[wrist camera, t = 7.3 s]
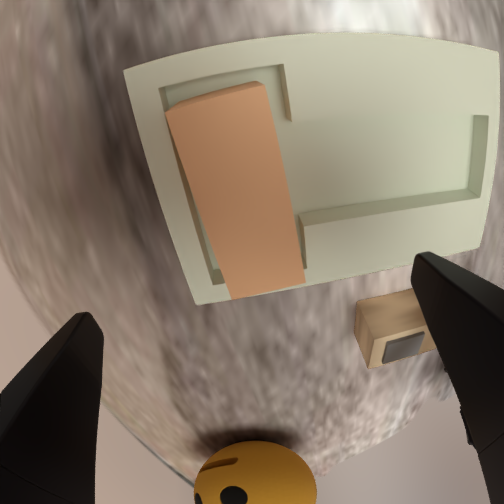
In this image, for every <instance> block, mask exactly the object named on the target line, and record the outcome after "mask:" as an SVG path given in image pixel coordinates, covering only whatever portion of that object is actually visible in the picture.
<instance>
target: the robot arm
mask: <svg viewBox="0 0 504 504" xmlns="http://www.w3.org/2000/svg"><path fill="white" fill-rule="evenodd" d="M411 284H412V287H413V290H414V293H415V295H416V298H417V300H418V303H419V305H420V308H421V311H422V314H423V316H424V319H425V322H426V325H427V327H428V330H429V332H430V334H431V337H432V339H433V341H434V343H435V345H436V347H437V350H438V352H439V354H440V356H441V358H442V361H443V363H444V365H445V369H444V370H445V372H448V375H449V377H450V379H451V382H452V384H453V387H454V389H455V392H456V394H457V397H458V399H459V402H460V404H461V406H460V409H461V410H460V413H461V416H462V419H463V422H464V425H465V429H466V434H467V441H468V444H469V445H473V446H474V448H475V449H476V451H477V453H478V457H479V461H480V464H481V468H482V471H483V475H484V478H485V482H486V486H487V490H488V494H489V498H490V503H491V504H504V290H503V289H501V288H500V287H498V286H496V285H494V284H492V283H491V282H489V281H487V280H485V279H483V278H481V277H479V276H478V275H476V274H474V273H472V272H470V271H468V270H466V269H464V268H462V267H460V266H458V265H456V264H454V263H452V262H450V261H448V260H446V259H444V258H442V257H440V256H438V255H436V254H434V253H432V252H430V251H426V252H421V253H418V254H416V255H415V257H414V262H413V268H412V273H411ZM103 346H104V335H103V332H102V330H101V328H100V327H99V325H98V324H97V322H96V321H95V319H94V318H93V316H92V315H91V314H90V313H89V312H80V313H76V314H75V315H74V316H73V317H72V318H71V319H70V320H69V321H68V322H67V323H66V324H65V325H64V326H63V327H62V328H61V329H60V330H59V331H58V332H57V333H56V334H55V335H54V336H53V337H52V338H51V339H50V340H49V341H48V342H47V343H46V344H45V345H44V346H43V347H42V348H41V349H40V350H39V351H38V352H37V353H36V354H35V355H34V357H33V358H32V359H31V360H30V361H29V362H28V363H27V364H26V365H25V366H24V367H23V368H22V369H21V370H20V371H19V373H18V374H17V375H16V376H15V377H14V378H13V379H12V381H10V383H9V384H8V385H7V386H6V387H5V388H4V389H3V390H2V392H1V393H0V504H95V461H96V442H97V429H98V417H99V407H100V397H101V388H102V367H103Z"/></svg>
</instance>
